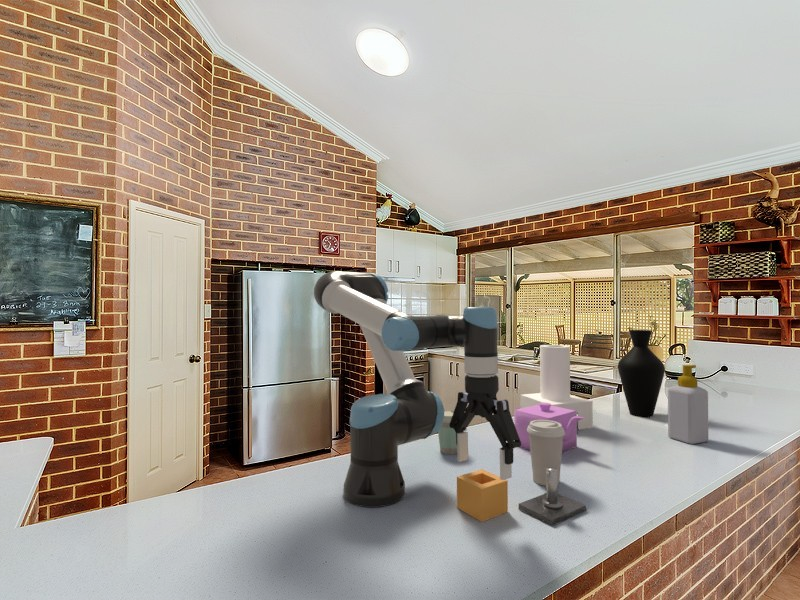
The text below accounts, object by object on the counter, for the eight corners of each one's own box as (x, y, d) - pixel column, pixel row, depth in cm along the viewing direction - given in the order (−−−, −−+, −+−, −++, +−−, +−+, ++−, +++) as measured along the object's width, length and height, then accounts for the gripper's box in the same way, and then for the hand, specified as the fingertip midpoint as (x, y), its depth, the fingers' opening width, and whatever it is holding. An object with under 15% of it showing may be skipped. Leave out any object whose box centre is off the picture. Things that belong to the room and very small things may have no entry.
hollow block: (481, 521, 93) (481, 489, 93) (457, 507, 100) (456, 476, 100) (507, 511, 97) (507, 480, 97) (482, 498, 104) (482, 469, 104)
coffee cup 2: (540, 490, 108) (540, 430, 108) (520, 476, 117) (519, 420, 117) (573, 486, 111) (573, 427, 111) (551, 472, 120) (550, 417, 120)
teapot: (570, 463, 126) (569, 415, 126) (502, 441, 146) (502, 400, 146) (598, 452, 135) (597, 407, 135) (530, 433, 155) (530, 394, 155)
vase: (628, 407, 192) (627, 328, 192) (672, 415, 179) (671, 330, 179) (610, 414, 181) (610, 330, 181) (655, 422, 168) (654, 332, 168)
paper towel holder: (520, 419, 174) (520, 344, 174) (560, 415, 180) (559, 343, 180) (550, 432, 156) (549, 349, 156) (592, 428, 162) (592, 347, 162)
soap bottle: (710, 442, 145) (709, 366, 145) (692, 445, 141) (691, 368, 142) (684, 434, 153) (683, 363, 153) (666, 437, 150) (665, 364, 150)
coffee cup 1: (462, 456, 132) (462, 417, 132) (434, 454, 134) (434, 415, 134) (463, 447, 141) (463, 410, 141) (437, 445, 142) (437, 409, 142)
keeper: (552, 525, 91) (551, 481, 91) (518, 509, 99) (518, 468, 99) (586, 510, 98) (585, 469, 98) (552, 495, 105) (552, 457, 105)
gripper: (537, 379, 90) (539, 482, 90) (457, 367, 111) (459, 450, 111) (512, 383, 86) (514, 491, 86) (434, 370, 107) (435, 456, 106)
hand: (483, 468), depth 98 cm, fingers open, 13 cm apart
